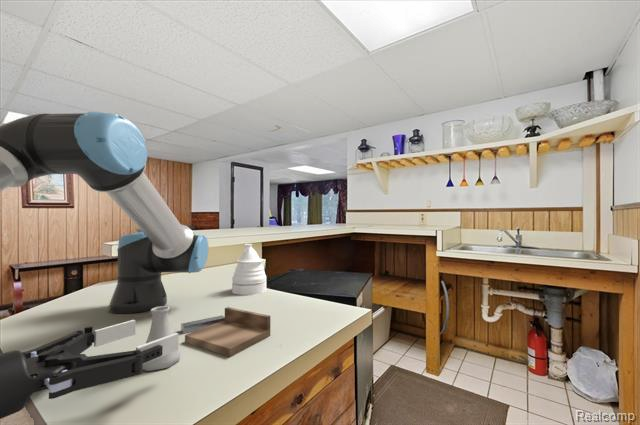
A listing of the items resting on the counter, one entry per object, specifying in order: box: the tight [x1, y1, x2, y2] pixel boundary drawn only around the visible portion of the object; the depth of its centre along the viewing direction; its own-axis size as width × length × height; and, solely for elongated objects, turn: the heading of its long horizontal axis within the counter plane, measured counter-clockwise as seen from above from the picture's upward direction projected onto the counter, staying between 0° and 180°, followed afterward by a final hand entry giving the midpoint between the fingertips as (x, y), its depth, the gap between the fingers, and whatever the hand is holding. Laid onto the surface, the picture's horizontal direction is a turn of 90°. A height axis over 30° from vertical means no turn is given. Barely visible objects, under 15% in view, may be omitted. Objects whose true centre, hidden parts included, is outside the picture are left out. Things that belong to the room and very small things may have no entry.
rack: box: [184, 306, 271, 358], centre depth 64 cm, size 14×12×4 cm
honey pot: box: [231, 243, 267, 296], centre depth 110 cm, size 13×13×18 cm
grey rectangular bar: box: [180, 315, 225, 335], centre depth 71 cm, size 2×10×2 cm, turn 128°
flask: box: [143, 305, 181, 372], centre depth 53 cm, size 7×7×10 cm
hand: (154, 333), depth 52 cm, fingers open, 13 cm apart
